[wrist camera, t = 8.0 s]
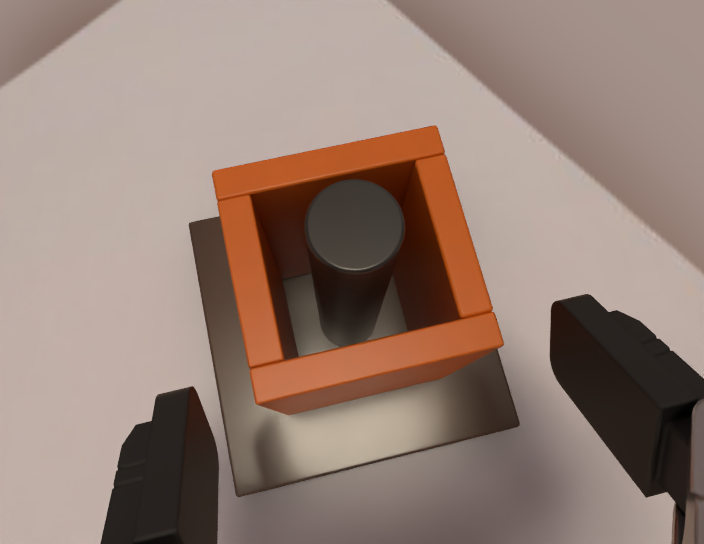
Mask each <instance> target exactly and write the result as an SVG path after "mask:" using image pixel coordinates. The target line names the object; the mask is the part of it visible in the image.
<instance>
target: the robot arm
mask: <svg viewBox="0 0 704 544" xmlns="http://www.w3.org/2000/svg"><path fill="white" fill-rule="evenodd" d="M550 361H551V366H552V369H553V372H554V375H555V377H556V379H557V381H558V382H559V384H560V385H561V386H562V388H563V389H564V390H565V392H566V393H567V394H568V396H569V397H570V398H571V400H572V401H573V402H574V404H575V405H576V406H577V408H578V409H579V410H580V411H581V413H582V414H583V415H584V417H585V418H586V419H587V421H588V422H589V423H590V425H591V426H592V427H593V429H594V430H595V431H596V432H597V434H598V435H599V436H600V438H601V439H602V440H603V442H604V443H605V444H606V446H607V447H608V448H609V450H610V451H611V452H612V454H613V455H614V456H615V457H616V459H617V460H618V461H619V463H620V464H621V465H622V467H623V468H624V469H625V471H626V472H627V473H628V475H629V476H630V477H631V479H632V480H633V481H634V482H635V484H636V485H637V486H638V488H639V489H640V490H641V492H642V493H643V494H644V496H645V497H650V496H654V495H657V494H661V493H665V492H668V494H669V495H670V496H671V497H672V498H673V500H674V501H675V504H674V509H673V522H672V542H671V544H704V379H703V378H702V377H701V376H700V375H699V374H698V373H697V372H696V371H694V370H693V369H692V368H691V367H690V366H689V365H688V364H687V363H686V362H685V361H683V360H682V359H681V358H680V357H679V356H678V355H677V354H676V353H675V352H673V351H670V349H669V347H668V346H667V345H666V344H665V343H664V342H662V341H661V340H660V339H657V338H656V335H655V334H654V333H652V332H651V331H650V330H649V329H648V328H647V327H646V326H645V325H644V324H643V323H641V322H640V321H639V320H637V319H634V318H632V317H630V316H628V315H626V314H624V313H622V312H619V311H617V310H616V311H612V312H608V311H607V310H606V309H605V308H604V307H603V306H602V305H601V304H600V303H599V302H597V301H596V300H595V299H594V298H593V297H592V296H591V295H589V294H584V295H580V296H576V297H572V298H568V299H563V300H559V301H555V302H554V303H553V304H552V307H551V330H550ZM117 467H118V471H116V475H115V480H114V489H112V494H111V498H110V503H109V507H108V512H107V517H106V521H105V526H104V530H103V535H102V540H101V544H217V531H218V482H219V461H218V453H217V447H216V443H215V439H214V436H213V434H212V431H211V428H210V426H209V423H208V420H207V418H206V415H205V412H204V410H203V407H202V405H201V402H200V399H199V397H198V394H197V392H196V390H195V388H194V387H188V388H184V389H179V390H175V391H171V392H167V393H162V394H158V395H157V396H156V400H155V405H154V411H153V417H152V421H150V422H146V423H142V424H137V425H136V426H135V427H134V429H133V430H132V431H131V433H130V434H129V436H128V437H127V439H126V440H125V442H124V443H123V445H122V448H121V452H120V457H119V461H118V466H117Z"/></svg>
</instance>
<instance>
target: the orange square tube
mask: <svg viewBox="0 0 704 544" xmlns="http://www.w3.org/2000/svg"><path fill="white" fill-rule="evenodd" d="M444 152H445V151H444V147H443V144H442V141H441V137H440V134H439V131H438V128H437V126H429V127H425V128H420V129H415V130H410V131H405V132H400V133H395V134H390V135H386V136H381V137H376V138H371V139H366V140H361V141H356V142H351V143H347V144H342V145H337V146H332V147H327V148H322V149H317V150H312V151H308V152H303V153H298V154H293V155H288V156H283V157H278V158H273V159H269V160H264V161H259V162H254V163H249V164H244V165H239V166H234V167H230V168H225V169H220V170H215V171H213V172H212V178H213V183H214V188H215V193H216V199H217V201H218V203H217V205H218V210H219V215H220V220H221V226H222V231H223V236H224V242H225V247H226V252H227V257H228V263H229V268H230V273H231V278H232V284H233V289H234V294H235V299H236V305H237V310H238V315H239V321H240V326H241V331H242V336H243V342H244V347H245V352H246V357H247V363H248V367H249V368H250V370H249V373H250V378H251V384H252V389H253V394H254V399H255V403H256V404H257V405H260V406H262V407H265V408H268V409H271V410H274V411H277V412H280V413H282V414H285V415H293V414H297V413H302V412H306V411H310V410H314V409H318V408H322V407H326V406H330V405H335V404H339V403H343V402H347V401H351V400H355V399H359V398H363V397H368V396H372V395H376V394H380V393H384V392H388V391H392V390H397V389H401V388H405V387H409V386H413V385H417V384H421V383H425V382H430V381H434V380H438V379H442V378H444V377H446V376H448V375H449V374H451V373H453V372H455V371H457V370H459V369H461V368H462V367H464V366H466V365H468V364H470V363H472V362H474V361H476V360H477V359H479V358H481V357H483V356H485V355H487V354H489V353H491V352H492V351H494V350H496V349H498V348H500V347H502V346H503V345H504V342H503V339H502V335H501V332H500V329H499V326H498V322H497V319H496V316H495V313H494V312H491V311H492V309H493V307H492V304H491V301H490V298H489V294H488V291H487V288H486V284H485V281H484V278H483V275H482V271H481V268H480V265H479V262H478V258H477V255H476V252H475V249H474V245H473V242H472V239H471V236H470V232H469V229H468V226H467V223H466V219H465V216H464V213H463V209H462V206H461V203H460V200H459V196H458V193H457V190H456V187H455V183H454V180H453V177H452V174H451V170H450V167H449V164H448V161H447V157H446V156H445V155H444ZM350 179H358V180H365V181H369V182H372V183H375V184H377V185H379V186H381V187H382V188H384V189H385V190H387V191H388V192H389V193H390V194H391V195H392V196H393V197H394V198H395V199H396V201H397V202H398V204H399V206H400V207H401V209H402V212H403V215H404V220H405V235H404V240H403V243H402V246H401V249H400V252H399V255H398V258H397V261H396V264H395V267H394V270H393V277H394V280H395V284H396V288H397V292H398V296H399V299H400V303H401V307H402V311H403V314H404V318H405V322H406V326H407V330H408V331H407V332H403V333H399V334H395V335H390V336H386V337H382V338H378V339H373V340H369V341H365V342H360V343H356V344H352V345H348V346H343V347H339V348H335V349H331V350H326V351H322V352H318V353H313V354H309V355H305V356H301V357H299V356H298V352H297V347H296V342H295V338H294V333H293V328H292V324H291V319H290V314H289V310H288V305H287V300H286V295H285V291H284V286H283V281H282V279H285V278H290V277H294V276H299V275H303V274H308V273H311V267H310V261H309V256H308V250H307V244H306V238H305V232H304V221H305V216H306V212H307V210H308V207H309V205H310V204H311V202H312V200H313V199H314V198H315V197H316V196H317V195H318V194H319V193H320V192H321V191H322V190H323V189H325V188H326V187H328V186H330V185H332V184H334V183H336V182H340V181H343V180H350Z"/></svg>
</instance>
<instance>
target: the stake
mask: <svg viewBox="0 0 704 544" xmlns="http://www.w3.org/2000/svg"><path fill="white" fill-rule="evenodd" d="M189 229H190V235H191V241H192V246H193V252H194V258H195V264H196V269H197V275H198V281H199V286H200V292H201V298H202V304H203V309H204V315H205V321H206V327H207V332H208V338H209V344H210V350H211V355H212V361H213V367H214V372H215V378H216V384H217V390H218V395H219V401H220V407H221V413H222V418H223V424H224V430H225V435H226V441H227V447H228V453H229V458H230V464H231V470H232V476H233V481H234V487H235V493H236V496H237V497H241V496H245V495H249V494H253V493H257V492H261V491H265V490H269V489H273V488H277V487H281V486H285V485H289V484H293V483H297V482H301V481H305V480H309V479H313V478H317V477H321V476H325V475H329V474H333V473H337V472H341V471H345V470H349V469H353V468H356V467H360V466H364V465H368V464H372V463H376V462H380V461H384V460H388V459H392V458H396V457H400V456H404V455H408V454H412V453H416V452H420V451H424V450H428V449H432V448H436V447H440V446H444V445H448V444H452V443H456V442H460V441H464V440H468V439H472V438H476V437H480V436H484V435H488V434H491V433H495V432H499V431H503V430H507V429H511V428H515V427H518V426H520V422H519V419H518V416H517V412H516V409H515V406H514V403H513V399H512V396H511V393H510V389H509V386H508V383H507V379H506V376H505V373H504V370H503V366H502V363H501V360H500V356H499V353H498V350H497V349H496V350H494V351H492V352H491V353H489V354H487V355H485V356H483V357H481V358H479V359H477V360H476V361H474V362H472V363H470V364H468V365H466V366H464V367H462V368H461V369H459V370H457V371H455V372H453V373H451V374H449V375H448V376H446V377H444V378H442V379H438V380H434V381H430V382H425V383H421V384H417V385H413V386H409V387H405V388H401V389H397V390H392V391H388V392H384V393H380V394H376V395H372V396H368V397H363V398H359V399H355V400H351V401H347V402H343V403H339V404H335V405H330V406H326V407H322V408H318V409H314V410H310V411H306V412H302V413H297V414H293V415H285V414H282V413H280V412H277V411H274V410H271V409H268V408H265V407H262V406H260V405H257V404H256V403H255V399H254V394H253V389H252V384H251V378H250V373H249V370H250V368H249V367H248V363H247V357H246V352H245V347H244V342H243V336H242V331H241V326H240V321H239V315H238V310H237V305H236V299H235V294H234V289H233V284H232V278H231V273H230V268H229V263H228V257H227V252H226V247H225V242H224V236H223V231H222V226H221V220H220V216H219V217H214V218H209V219H204V220H200V221H195V222H191V223H189ZM304 232H305V238H306V244H307V250H308V256H309V261H310V267H311V273H308V274H303V275H299V276H294V277H290V278H285V279H282V281H283V286H284V291H285V295H286V300H287V305H288V310H289V314H290V319H291V324H292V328H293V333H294V338H295V342H296V347H297V352H298V356H299V357H301V356H305V355H309V354H313V353H318V352H322V351H326V350H331V349H335V348H339V347H343V346H348V345H352V344H356V343H360V342H365V341H369V340H373V339H378V338H382V337H386V336H390V335H395V334H399V333H403V332H407V331H408V330H407V326H406V322H405V318H404V314H403V311H402V307H401V303H400V299H399V296H398V292H397V288H396V284H395V280H394V277H393V270H394V267H395V264H396V261H397V258H398V255H399V252H400V249H401V246H402V243H403V240H404V235H405V220H404V215H403V212H402V209H401V207H400V206H399V204H398V202H397V201H396V199H395V198H394V197H393V196H392V195H391V194H390V193H389V192H388V191H387V190H385V189H384V188H382V187H381V186H379V185H377V184H375V183H372V182H369V181H365V180H358V179H350V180H343V181H340V182H336V183H334V184H332V185H330V186H328V187H326V188H325V189H323V190H322V191H321V192H320V193H319V194H318V195H317V196H316V197H315V198H314V199H313V200H312V202H311V204H310V205H309V207H308V210H307V212H306V216H305V221H304Z"/></svg>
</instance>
